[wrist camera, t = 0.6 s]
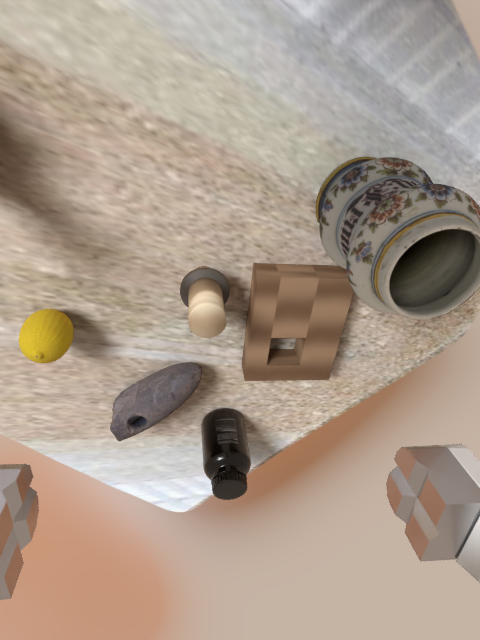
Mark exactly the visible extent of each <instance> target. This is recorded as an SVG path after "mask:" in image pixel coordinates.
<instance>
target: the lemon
mask: <svg viewBox="0 0 480 640" xmlns="http://www.w3.org/2000/svg"><path fill="white" fill-rule="evenodd" d="M73 335H74V329H73V325H72V322H71V321H70V319H69V318H68V317H67V316H66V315H65V314H64V313H62V312H60V311H58V310H54V309H44V310H40V311H37V312H35V313H33V314H32V315H31V316H30V317H29V318H28V319H27V320H26V321H25V322H24V324H23V326H22V328H21V330H20V335H19V345H20V349H21V351H22V353H23V354H24V355H25V356H26V357H27V358H28V359H30V360H32V361H34V362H37V363H50V362H53V361H56V360H57V359H59V358H61V357H62V356H63V355H64V354H65V353H66V352H67V350H68V349H69V347H70V345H71V343H72V341H73Z"/></svg>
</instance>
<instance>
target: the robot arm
mask: <svg viewBox="0 0 480 640" xmlns="http://www.w3.org/2000/svg"><path fill="white" fill-rule="evenodd" d="M394 460H395V462H396V463H397V465H398V466H397V467H396V468H395V469H393V470H392V471H391V472H390V473H389V476H388V479H387V483H386V485H387V496H388V499H389V503H390V505H391V507H392V509H393V511H394V513H395V515H396V516H398V517H399V518H400V519H402V520H403V521H404V522H405V523H406V529H405V534H406V536H407V537H408V539H409V541H410V543H411V545H412V547H413V549H414V550H415V552H416V554H417V556H418V558H419V560H420V561H433V560H450V559H457V560H456V562H458V563H459V564H460V565H461V566H462V567H463V568H464V569H465V570H466V571H467V572H469V573H470V574H471V575H472V576H473V577H474V578H475V579H476V580H477V581H479V582H480V461H479V460H478V459H477V458H476V457H475V455H474V454H473V453H472V452H471V451H470V450H469V449H468V448H467V447H466V446H464V445H462V444H453V445H440V446H439V445H432V446H414V447H401V448H400V449H399V450H398V451H397V453H396V455H395V458H394ZM32 478H33V474H32V471H31V467H30V465H27V464H8V465H7V464H6V465H5V464H4V465H0V600H3V599H11V597H12V594H13V591H14V588H15V586H16V582H17V580H18V577H19V574H20V571H21V569H22V566H23V563H24V562H23V558H22V555H21V550H22V549H23V548H24V547H25V546H26V545H27V544H28V543H29V542H30V541H31V540H32V537H33V534H34V531H35V528H36V524H37V517H38V511H39V509H38V496H37V492H36V491H35V490H33V489H32V488H31V487H29V486H30V483H31V481H32Z"/></svg>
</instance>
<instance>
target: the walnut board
mask: <svg viewBox="0 0 480 640" xmlns="http://www.w3.org/2000/svg"><path fill="white" fill-rule="evenodd" d="M353 292H354V291H353V289H352V287H351V285H350V282H349V279H348V275H347V269H345V268H343V267H341V266H329V265H295V264H261V263H254V265H253V273H252V282H251V290H250V299H249V307H248V316H247V324H246V332H245V341H244V349H243V358H242V368H243V374H244V379H245V381H269V380H329V377H330V374H331V370H332V366H333V363H334V359H335V356H336V352H337V349H338V345H339V342H340V338H341V335H342V331H343V328H344V324H345V321H346V317H347V314H348V310H349V307H350V303H351V299H352V296H353ZM271 338H296V342H295V347H294V349H269V348H270V342H271Z"/></svg>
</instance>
